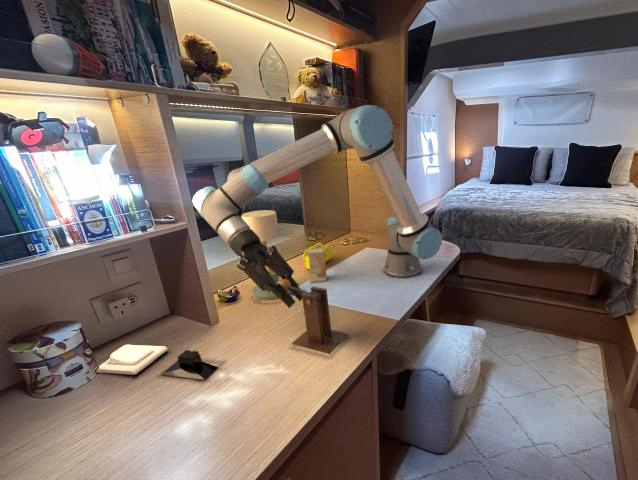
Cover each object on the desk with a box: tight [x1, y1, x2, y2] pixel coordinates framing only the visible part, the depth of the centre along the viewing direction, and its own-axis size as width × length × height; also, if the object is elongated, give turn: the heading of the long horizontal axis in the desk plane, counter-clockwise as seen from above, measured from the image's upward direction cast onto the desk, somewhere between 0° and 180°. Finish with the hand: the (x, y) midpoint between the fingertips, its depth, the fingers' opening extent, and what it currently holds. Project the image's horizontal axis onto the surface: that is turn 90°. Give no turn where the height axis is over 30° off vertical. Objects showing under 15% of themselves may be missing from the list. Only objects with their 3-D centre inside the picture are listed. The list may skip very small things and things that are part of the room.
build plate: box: [161, 349, 219, 382], centre depth 84 cm, size 12×7×5 cm, turn 78°
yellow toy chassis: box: [302, 241, 334, 270], centre depth 150 cm, size 16×6×8 cm, turn 158°
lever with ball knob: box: [277, 278, 322, 303], centre depth 90 cm, size 13×4×4 cm, turn 65°
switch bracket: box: [290, 286, 349, 355], centre depth 91 cm, size 12×10×16 cm
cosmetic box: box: [307, 249, 327, 283], centre depth 133 cm, size 6×4×12 cm
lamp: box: [240, 209, 294, 303], centre depth 118 cm, size 14×14×30 cm
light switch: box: [95, 344, 169, 376], centre depth 89 cm, size 11×4×13 cm
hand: (297, 301), depth 92 cm, fingers closed on lever with ball knob, 4 cm apart
